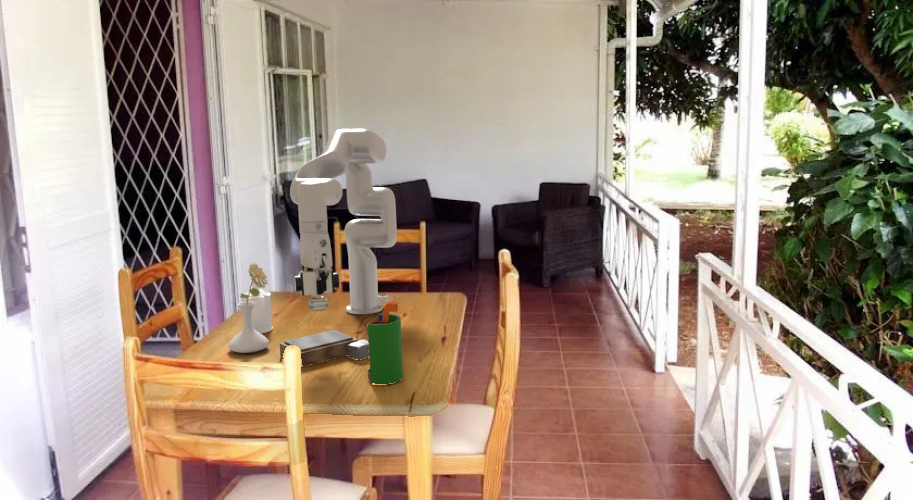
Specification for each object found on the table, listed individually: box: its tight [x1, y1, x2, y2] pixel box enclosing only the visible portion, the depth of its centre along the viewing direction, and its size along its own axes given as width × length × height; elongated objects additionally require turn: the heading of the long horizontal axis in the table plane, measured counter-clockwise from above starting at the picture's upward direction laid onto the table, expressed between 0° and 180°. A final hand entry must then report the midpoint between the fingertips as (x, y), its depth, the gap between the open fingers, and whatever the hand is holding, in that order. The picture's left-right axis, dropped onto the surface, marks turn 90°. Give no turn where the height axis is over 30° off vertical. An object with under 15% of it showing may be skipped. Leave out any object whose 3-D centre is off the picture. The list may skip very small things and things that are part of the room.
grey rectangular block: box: [347, 338, 369, 361], centre depth 203 cm, size 6×4×4 cm, turn 144°
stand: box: [279, 329, 359, 368], centre depth 205 cm, size 18×12×5 cm, turn 130°
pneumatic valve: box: [293, 269, 340, 312], centre depth 202 cm, size 6×12×12 cm, turn 107°
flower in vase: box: [227, 262, 270, 354], centre depth 209 cm, size 13×11×25 cm
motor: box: [366, 301, 404, 384], centre depth 185 cm, size 10×9×20 cm
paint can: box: [239, 281, 274, 335], centre depth 228 cm, size 10×9×20 cm
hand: (316, 291), depth 202 cm, fingers closed on pneumatic valve, 5 cm apart
